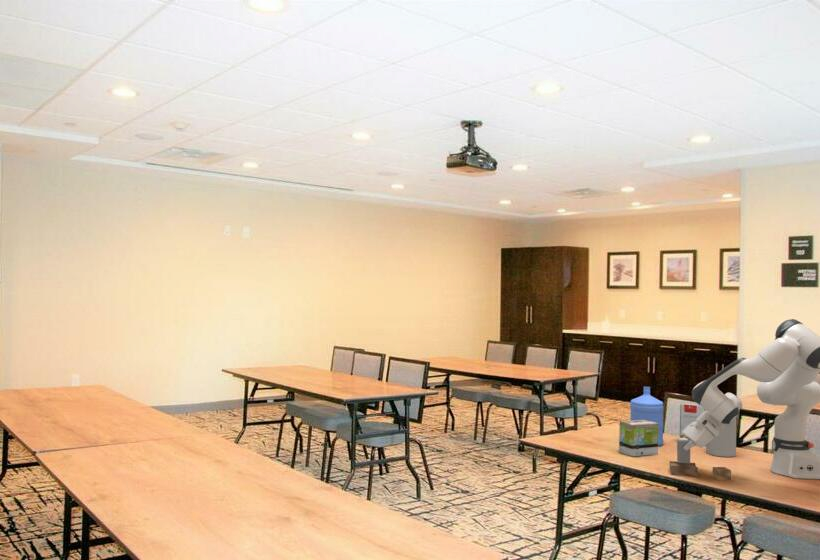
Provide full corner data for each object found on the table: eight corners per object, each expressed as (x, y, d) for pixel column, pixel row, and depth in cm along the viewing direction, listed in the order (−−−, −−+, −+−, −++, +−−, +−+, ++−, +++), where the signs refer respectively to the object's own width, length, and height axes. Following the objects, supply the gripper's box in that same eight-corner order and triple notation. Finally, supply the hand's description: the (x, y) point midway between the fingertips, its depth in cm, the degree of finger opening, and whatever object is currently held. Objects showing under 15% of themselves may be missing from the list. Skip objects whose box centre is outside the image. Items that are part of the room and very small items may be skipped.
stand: (695, 471, 271) (695, 463, 271) (697, 476, 263) (697, 467, 263) (669, 469, 274) (669, 461, 274) (671, 474, 266) (671, 465, 266)
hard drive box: (679, 443, 324) (679, 403, 324) (680, 440, 330) (680, 401, 331) (713, 447, 316) (713, 406, 317) (714, 444, 323) (714, 404, 324)
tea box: (633, 457, 294) (634, 424, 295) (618, 452, 303) (618, 420, 304) (658, 454, 300) (659, 422, 301) (642, 449, 309) (643, 418, 310)
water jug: (660, 448, 313) (660, 390, 313) (626, 444, 321) (627, 387, 321) (665, 442, 326) (665, 386, 327) (633, 438, 334) (633, 384, 335)
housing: (688, 461, 270) (688, 438, 270) (690, 463, 266) (690, 440, 266) (677, 460, 271) (677, 437, 271) (678, 462, 267) (678, 439, 267)
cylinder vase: (700, 452, 306) (700, 399, 306) (718, 450, 311) (719, 397, 312) (723, 458, 295) (723, 403, 295) (742, 456, 300) (742, 401, 300)
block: (724, 476, 264) (724, 467, 264) (731, 480, 259) (731, 470, 259) (712, 476, 264) (712, 467, 264) (719, 480, 259) (719, 470, 259)
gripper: (693, 414, 278) (669, 436, 279) (709, 423, 258) (683, 447, 259) (704, 425, 278) (680, 447, 279) (721, 435, 257) (695, 459, 258)
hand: (682, 447), depth 269 cm, fingers closed on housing, 5 cm apart
